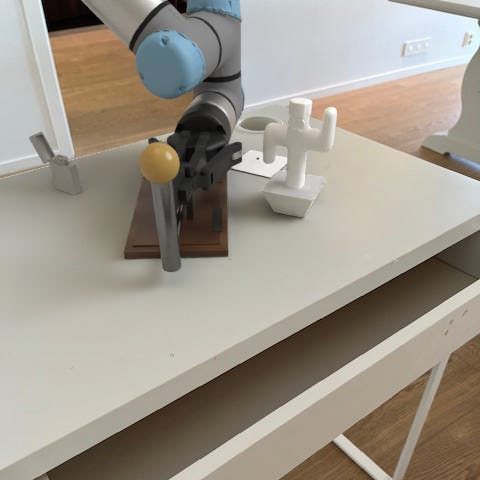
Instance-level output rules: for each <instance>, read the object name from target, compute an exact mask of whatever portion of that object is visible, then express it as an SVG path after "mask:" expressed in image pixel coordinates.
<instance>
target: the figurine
mask: <svg viewBox="0 0 480 480" xmlns="http://www.w3.org/2000/svg"><path fill="white" fill-rule="evenodd" d="M312 109H313V100H311V99H309V98H306V97H293V98H291V99H290V100H289V105H288V117H289V118H288V120H287V123H286V124H285V123H279V122H270V123H268V124H267V125H266V126H265V128H264V131H263V139H262V141H263V142H262V152H263V161H264V163H266V164H271V163H273V162H274V161H275V158H276V155H277V147H278V146H279V147H284V148H287V149H286V150H287V155H286V158H287V164H286V170H284V169H279V171H278V172H277V173H275V174H274V175H273V176H272V177H271V179H270V180H269V181H268V183H267V184H266V185H265V186H264V187H263V188H262V190H261V192H262V194H263V196H264V197H265V199H266V201H267V202H268V204H269V206H270V208H271V210H273V212H274V213H278V214H283V215H288V216H293V217H298V218H303V219H304V218H305V217H306V215H307V214H308V212H309V210H310V209H311V208H312V206H313V204H314V202H315V201H316V199H317V197H318V195H319V194H320V192H321V190H322V189H323V186H324V185H325V183H326V181H327V180H328V177H327V176H322V175H321V176H320V175H315V174H310V173H306V169H307V157H308V151H310V152H311V151H312V152H316V153H317V152H318V153H328V152H330V151H331V150H332V148H333V145H334V142H335V138H336V137H335V135H336V126H337V118H338V111H337V108H336V107H334V106H328V107H327V108H325V110H324V111H323V115H322V123H321V128H315V127H311V125H310V118H311V117H310V116H311V115H312Z"/></svg>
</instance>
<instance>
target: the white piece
mask: <svg viewBox="0 0 480 480" xmlns="http://www.w3.org/2000/svg"><path fill="white" fill-rule="evenodd" d="M285 166H287V156H283V155H282V156H281V155H277V154H276V158H275V161H274V162H273V163H271V164H266V163H264V161H263V151H258V150H255V149H250V150H249V151H247V152H246V153H244V154H242V162H241V163H239V164H237V165H235V166H233V167H232V168H231V169H233V170H237V171H242V172H245V173H248V174H249V173H250V174H253V175H258V176H262V177H266V178H269V179H270V178H271V179H272V178H273V177H274V175H275V174H276V173H277V172H278V171H279V169H280V170H282V168H284V167H285Z"/></svg>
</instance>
